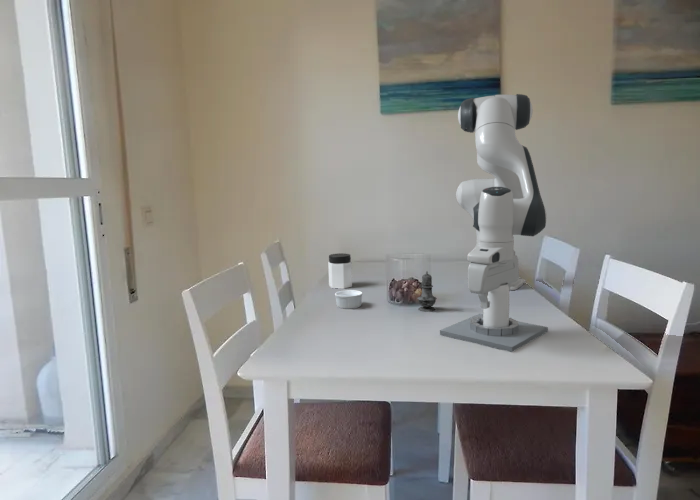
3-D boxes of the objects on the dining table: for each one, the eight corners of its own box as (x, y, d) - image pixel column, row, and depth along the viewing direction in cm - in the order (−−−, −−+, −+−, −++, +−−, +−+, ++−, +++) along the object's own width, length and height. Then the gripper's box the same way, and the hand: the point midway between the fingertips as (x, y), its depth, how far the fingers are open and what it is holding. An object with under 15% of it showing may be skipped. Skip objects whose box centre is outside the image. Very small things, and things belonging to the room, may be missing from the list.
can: (478, 325, 135) (478, 281, 133) (497, 322, 137) (498, 279, 135) (494, 332, 129) (494, 286, 127) (514, 328, 131) (515, 283, 130)
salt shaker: (436, 312, 153) (436, 273, 151) (416, 311, 154) (416, 273, 152) (436, 307, 159) (436, 269, 157) (418, 306, 160) (417, 269, 158)
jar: (354, 287, 188) (353, 256, 186) (333, 289, 186) (332, 257, 184) (347, 283, 197) (346, 252, 195) (327, 284, 194) (326, 254, 192)
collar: (484, 319, 140) (485, 313, 140) (526, 327, 132) (526, 321, 132) (461, 329, 132) (461, 322, 132) (504, 339, 124) (504, 332, 123)
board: (479, 317, 146) (479, 313, 146) (547, 331, 132) (547, 327, 132) (439, 334, 132) (439, 330, 132) (511, 352, 118) (511, 347, 118)
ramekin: (330, 307, 161) (329, 294, 161) (343, 301, 169) (342, 288, 168) (355, 310, 157) (354, 297, 157) (367, 304, 165) (367, 291, 164)
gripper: (503, 245, 138) (502, 294, 141) (463, 255, 124) (462, 310, 126) (525, 247, 134) (524, 298, 136) (486, 258, 120) (485, 314, 122)
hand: (494, 304), depth 131 cm, fingers open, 8 cm apart
